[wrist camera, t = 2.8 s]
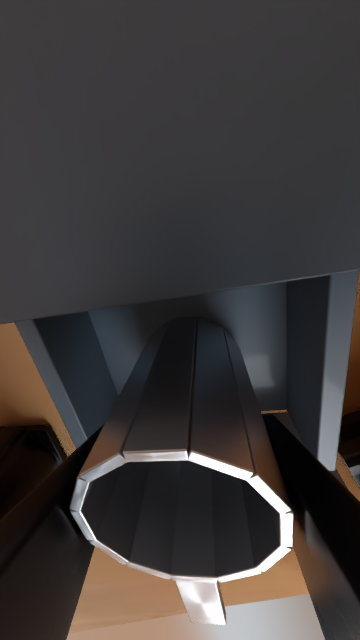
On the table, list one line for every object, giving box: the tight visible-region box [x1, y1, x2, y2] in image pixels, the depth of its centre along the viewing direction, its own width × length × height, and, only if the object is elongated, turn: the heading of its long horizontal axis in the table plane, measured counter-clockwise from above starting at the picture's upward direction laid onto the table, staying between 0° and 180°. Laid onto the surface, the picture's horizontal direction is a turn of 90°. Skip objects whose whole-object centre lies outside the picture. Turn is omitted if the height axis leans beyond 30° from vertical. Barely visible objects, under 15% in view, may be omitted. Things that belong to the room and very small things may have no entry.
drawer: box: [15, 271, 359, 488], centre depth 11 cm, size 17×13×5 cm
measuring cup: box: [69, 317, 294, 625], centre depth 9 cm, size 8×5×7 cm, turn 10°
